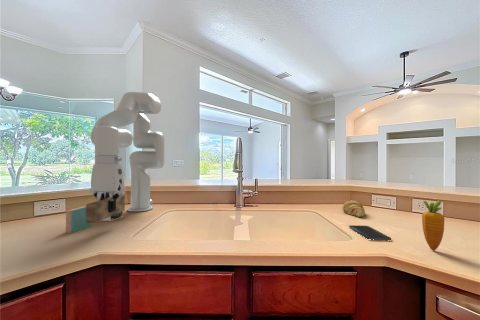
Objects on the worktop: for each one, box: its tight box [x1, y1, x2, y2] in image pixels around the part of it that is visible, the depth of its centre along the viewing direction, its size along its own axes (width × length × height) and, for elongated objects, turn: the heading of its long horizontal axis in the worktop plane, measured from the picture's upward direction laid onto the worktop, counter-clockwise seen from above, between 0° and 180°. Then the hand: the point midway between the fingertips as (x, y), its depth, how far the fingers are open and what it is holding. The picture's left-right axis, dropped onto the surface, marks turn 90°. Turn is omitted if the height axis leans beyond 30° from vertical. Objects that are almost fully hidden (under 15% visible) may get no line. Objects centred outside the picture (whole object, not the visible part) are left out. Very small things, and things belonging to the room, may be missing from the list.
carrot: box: [421, 200, 445, 251], centre depth 64 cm, size 5×5×15 cm
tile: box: [65, 205, 93, 234], centre depth 83 cm, size 3×9×8 cm, turn 175°
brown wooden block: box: [85, 194, 126, 224], centre depth 79 cm, size 16×3×6 cm, turn 175°
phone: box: [348, 225, 392, 241], centre depth 80 cm, size 8×1×15 cm
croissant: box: [341, 199, 366, 218], centre depth 112 cm, size 21×10×8 cm, turn 172°
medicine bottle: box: [101, 192, 124, 222], centre depth 98 cm, size 7×7×12 cm
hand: (107, 210), depth 79 cm, fingers closed on brown wooden block, 2 cm apart
